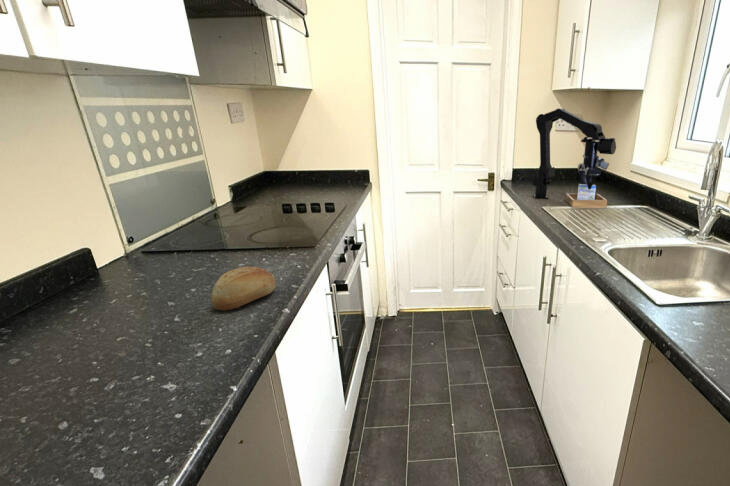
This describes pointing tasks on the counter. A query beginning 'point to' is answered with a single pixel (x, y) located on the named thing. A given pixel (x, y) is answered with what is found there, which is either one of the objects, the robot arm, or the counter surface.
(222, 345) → the counter surface
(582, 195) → the medicine box
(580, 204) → the wooden tray
